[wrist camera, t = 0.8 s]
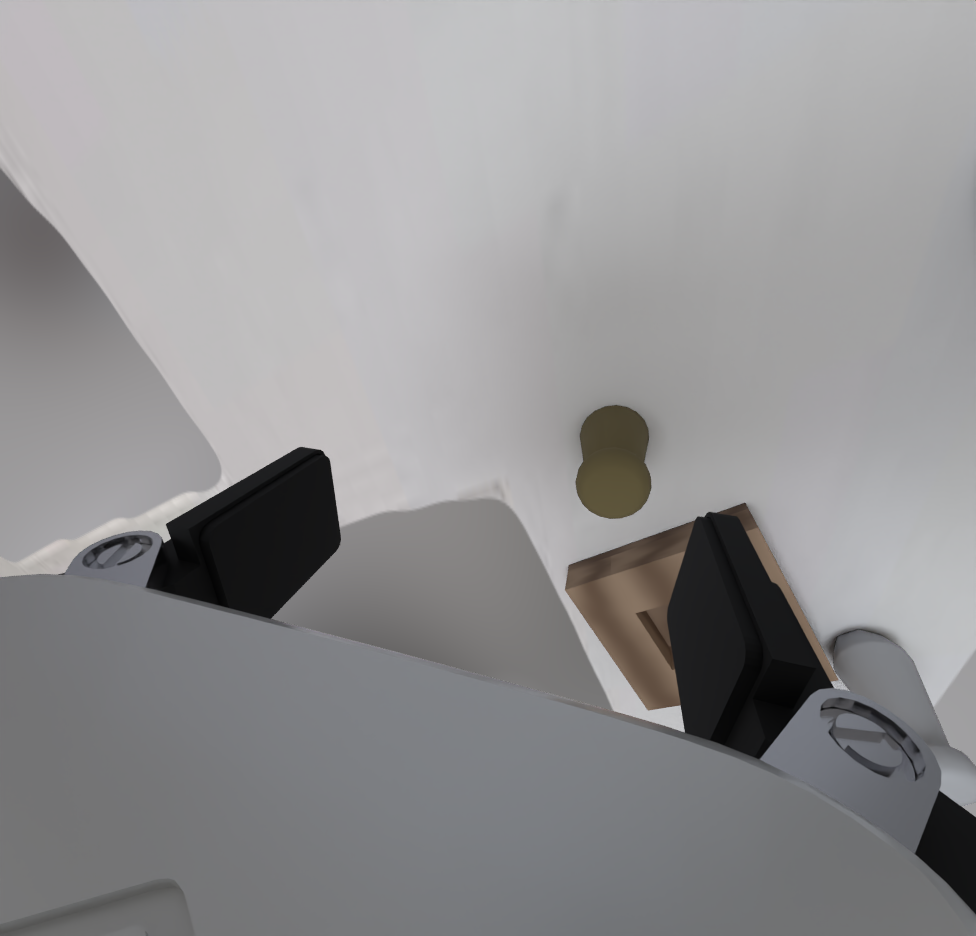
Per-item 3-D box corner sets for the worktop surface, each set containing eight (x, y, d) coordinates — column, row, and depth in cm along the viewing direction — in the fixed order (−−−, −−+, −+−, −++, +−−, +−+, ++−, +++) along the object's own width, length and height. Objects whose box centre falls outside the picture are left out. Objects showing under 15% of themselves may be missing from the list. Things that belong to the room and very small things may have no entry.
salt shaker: (888, 616, 38) (1001, 764, 27) (906, 661, 39) (1020, 818, 28) (814, 630, 41) (889, 770, 29) (833, 671, 42) (912, 820, 31)
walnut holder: (745, 503, 37) (758, 527, 34) (820, 645, 41) (838, 680, 38) (569, 565, 45) (565, 590, 42) (645, 679, 49) (647, 710, 46)
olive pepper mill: (578, 465, 40) (566, 527, 31) (581, 404, 37) (568, 452, 28) (645, 469, 38) (654, 536, 29) (652, 406, 36) (665, 457, 26)
